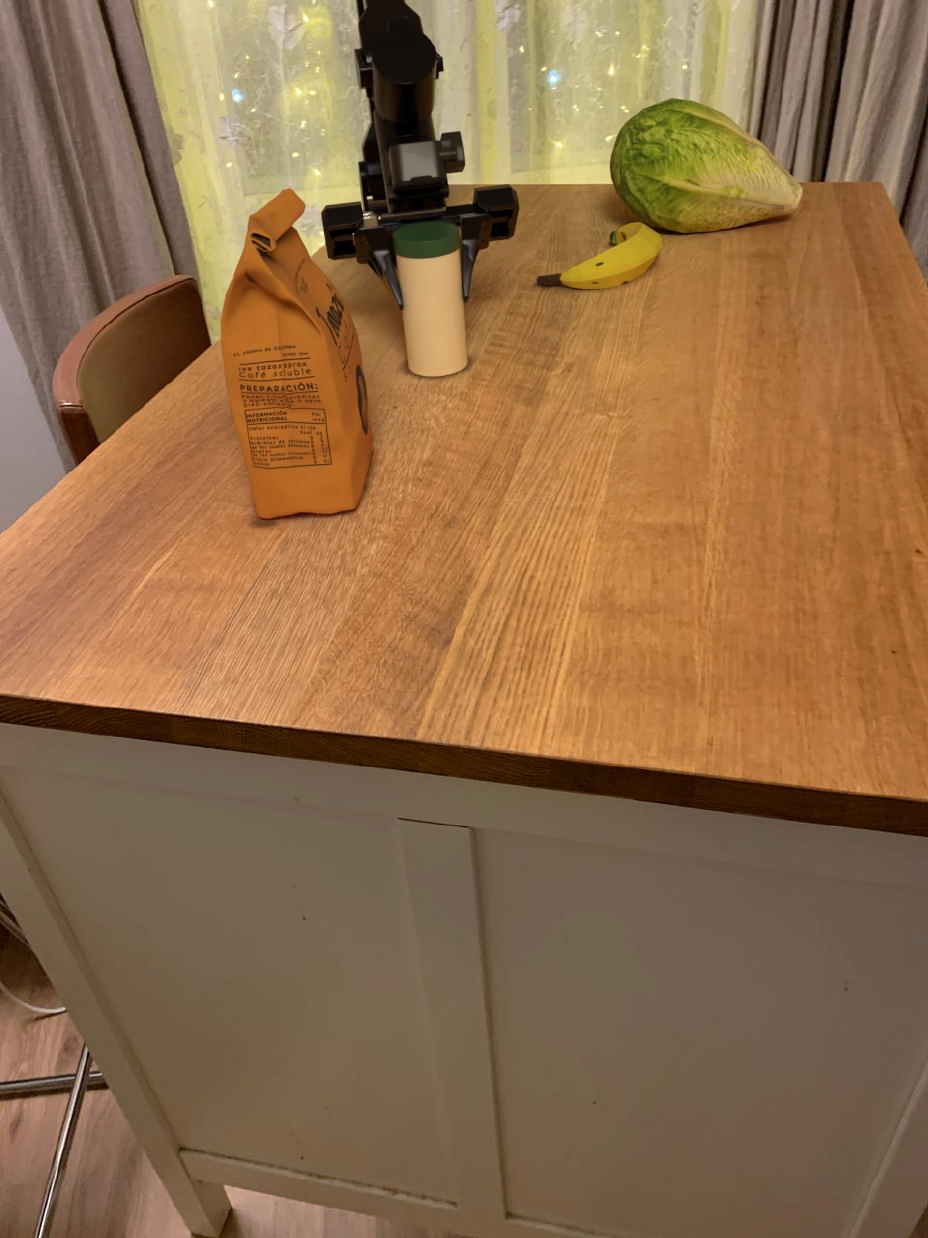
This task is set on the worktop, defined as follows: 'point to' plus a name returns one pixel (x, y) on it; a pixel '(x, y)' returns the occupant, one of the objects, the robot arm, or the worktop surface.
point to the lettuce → (697, 170)
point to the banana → (613, 260)
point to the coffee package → (294, 373)
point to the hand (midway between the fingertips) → (433, 304)
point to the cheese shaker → (432, 297)
